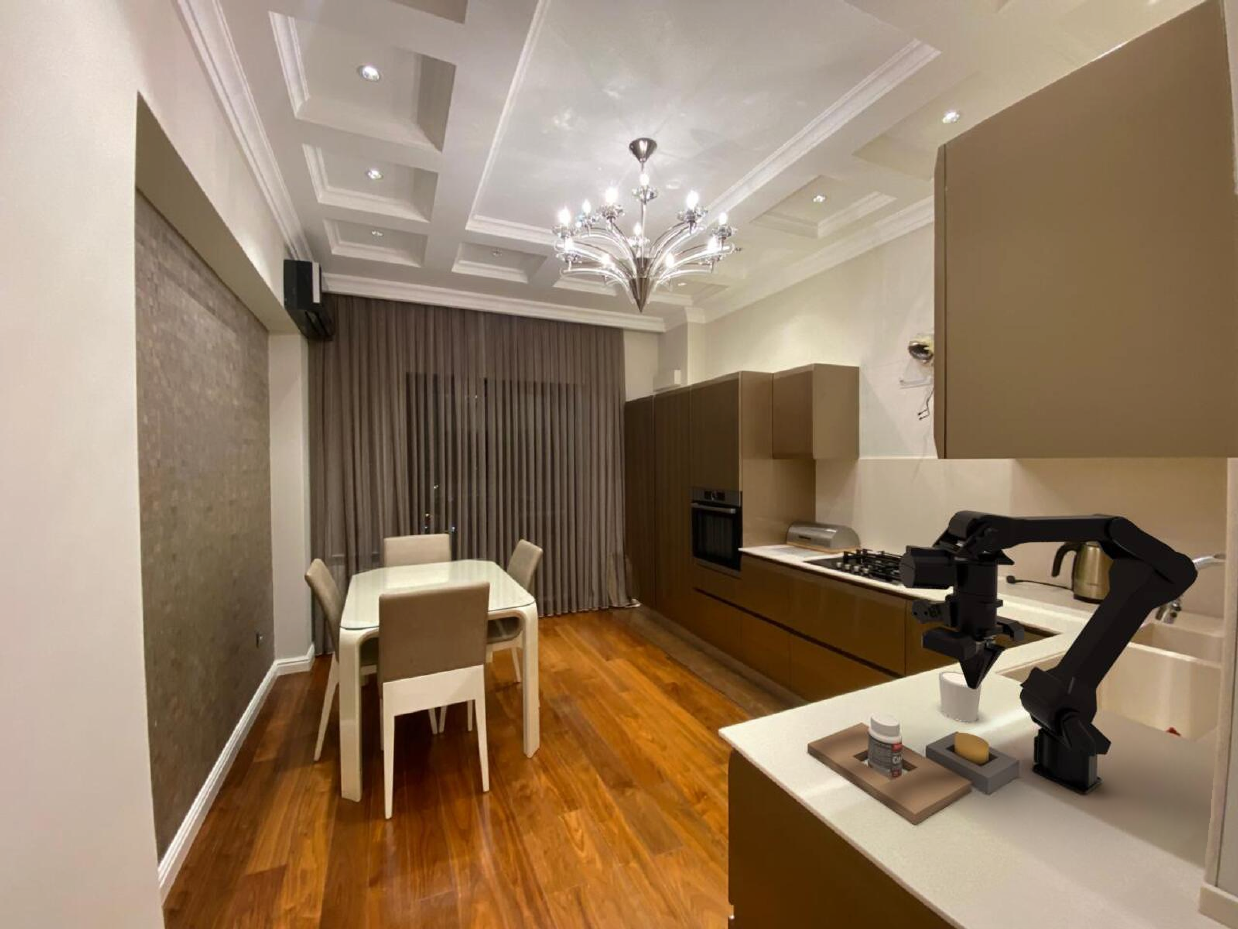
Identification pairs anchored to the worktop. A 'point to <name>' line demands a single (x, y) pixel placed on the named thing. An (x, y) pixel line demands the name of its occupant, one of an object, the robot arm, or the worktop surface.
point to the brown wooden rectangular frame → (905, 795)
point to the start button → (972, 748)
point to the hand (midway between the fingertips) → (972, 688)
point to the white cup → (958, 697)
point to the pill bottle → (885, 745)
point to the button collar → (974, 765)
